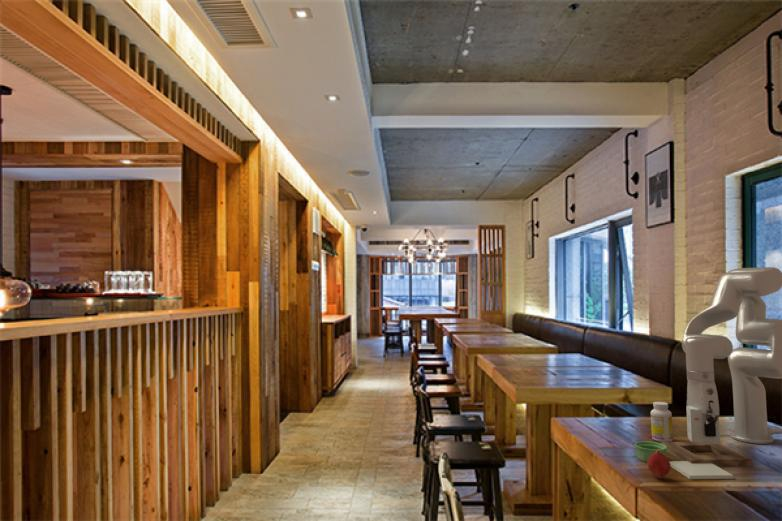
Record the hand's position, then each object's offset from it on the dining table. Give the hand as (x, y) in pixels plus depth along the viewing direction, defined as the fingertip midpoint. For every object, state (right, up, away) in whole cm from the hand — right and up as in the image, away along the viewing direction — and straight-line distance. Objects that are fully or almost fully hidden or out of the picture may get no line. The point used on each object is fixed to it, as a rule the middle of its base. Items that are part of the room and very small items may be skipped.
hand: (703, 432), depth 164 cm
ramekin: (-18, -8, -2) cm, 19 cm away
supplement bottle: (-4, -9, +18) cm, 20 cm away
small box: (0, -3, 0) cm, 3 cm away
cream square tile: (-9, -7, -13) cm, 18 cm away
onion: (-23, -7, -18) cm, 30 cm away
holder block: (0, -7, -1) cm, 8 cm away
